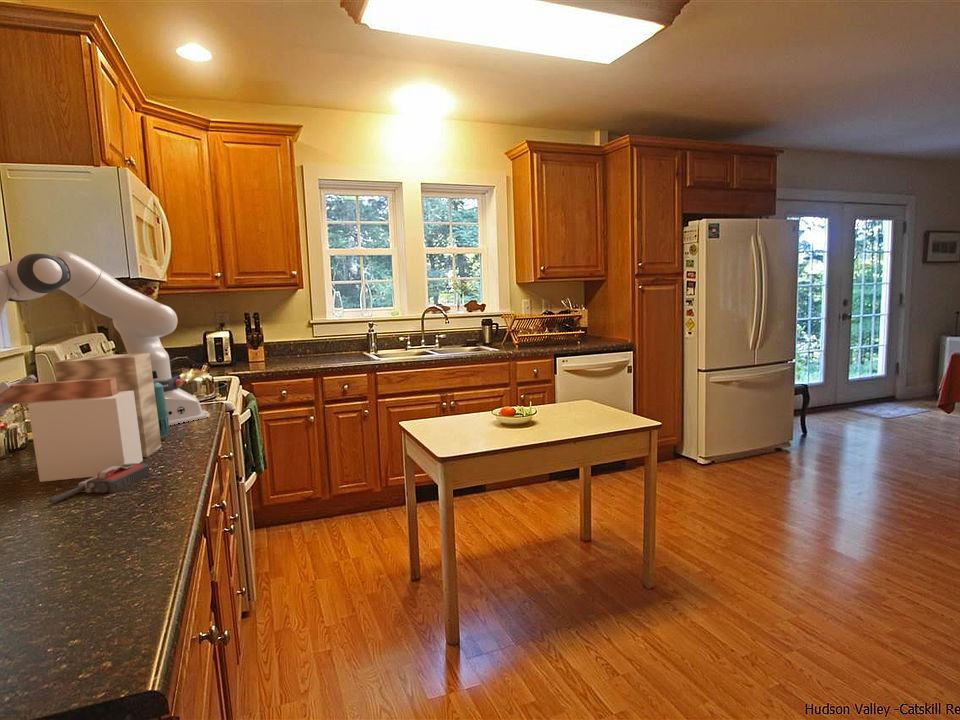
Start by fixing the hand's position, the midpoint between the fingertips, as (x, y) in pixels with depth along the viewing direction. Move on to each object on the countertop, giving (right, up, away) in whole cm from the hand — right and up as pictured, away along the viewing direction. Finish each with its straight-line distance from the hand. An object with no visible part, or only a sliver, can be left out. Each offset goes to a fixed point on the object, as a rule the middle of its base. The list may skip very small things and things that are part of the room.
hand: (21, 380), depth 130 cm
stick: (+7, -4, +2) cm, 9 cm away
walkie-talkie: (+24, -24, -8) cm, 35 cm away
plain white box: (+13, -22, +5) cm, 26 cm away
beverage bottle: (+13, -18, +32) cm, 39 cm away
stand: (+11, -20, +18) cm, 29 cm away
